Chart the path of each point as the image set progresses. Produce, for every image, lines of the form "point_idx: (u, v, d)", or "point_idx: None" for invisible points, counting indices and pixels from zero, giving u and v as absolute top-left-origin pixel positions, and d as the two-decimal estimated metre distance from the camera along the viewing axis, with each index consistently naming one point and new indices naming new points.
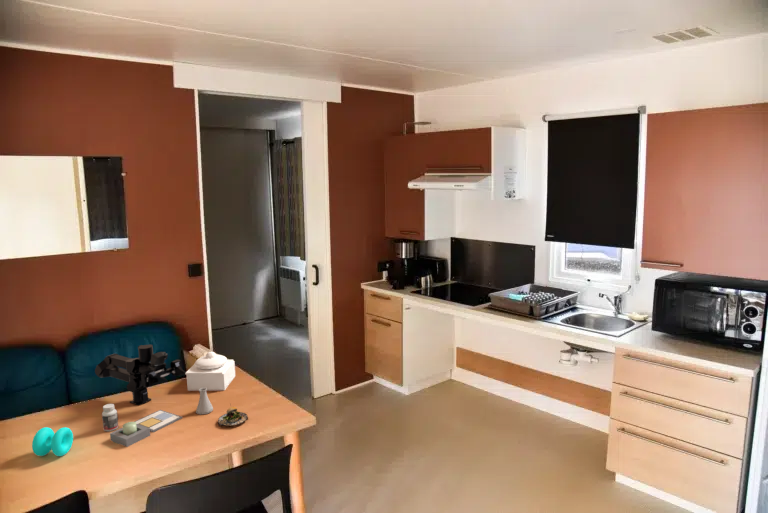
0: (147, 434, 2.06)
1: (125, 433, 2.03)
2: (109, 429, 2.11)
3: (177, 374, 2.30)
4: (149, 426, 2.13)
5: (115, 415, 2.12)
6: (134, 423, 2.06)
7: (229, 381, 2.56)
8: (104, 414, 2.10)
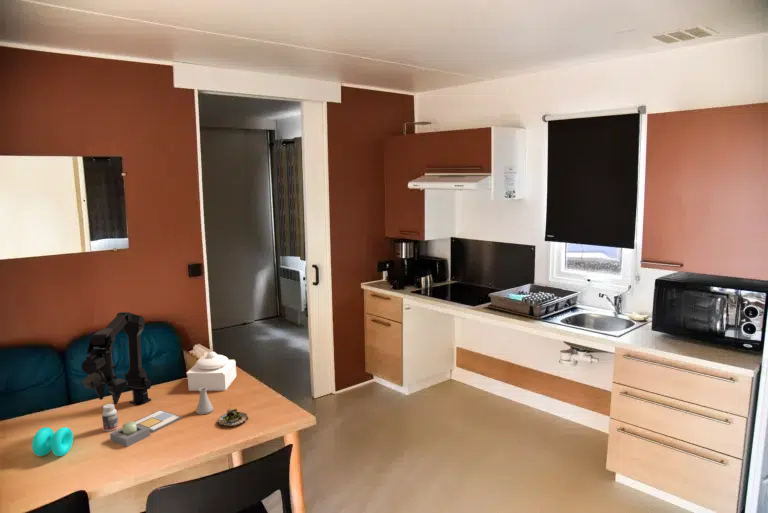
0: (147, 434, 2.06)
1: (125, 433, 2.03)
2: (109, 429, 2.11)
3: None
4: (149, 426, 2.13)
5: (115, 415, 2.12)
6: (134, 423, 2.06)
7: (230, 382, 2.56)
8: (104, 414, 2.10)
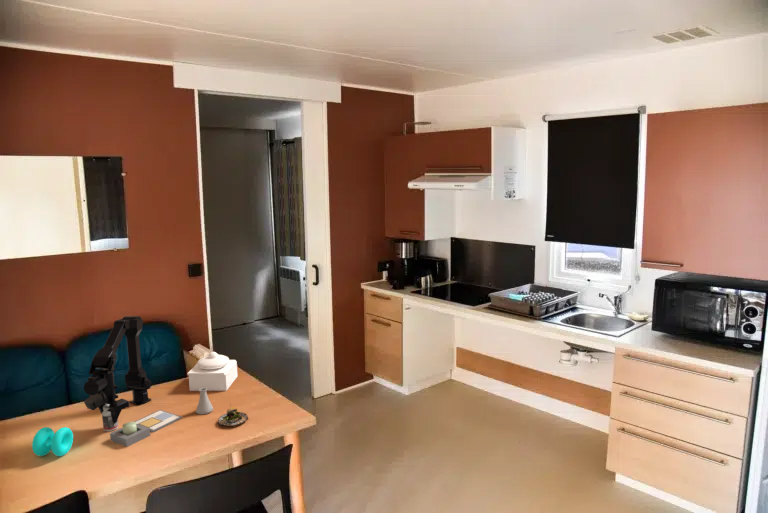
0: (147, 434, 2.06)
1: (125, 433, 2.03)
2: (109, 429, 2.11)
3: None
4: (149, 426, 2.13)
5: None
6: (134, 423, 2.06)
7: (231, 382, 2.56)
8: (104, 414, 2.10)
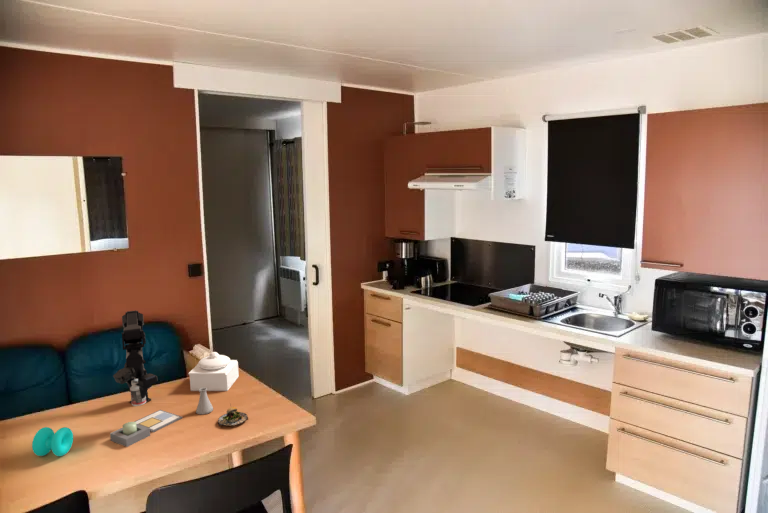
0: (147, 434, 2.06)
1: (125, 433, 2.03)
2: (137, 404, 2.11)
3: None
4: (149, 426, 2.13)
5: None
6: (134, 423, 2.06)
7: (232, 382, 2.56)
8: (132, 389, 2.11)
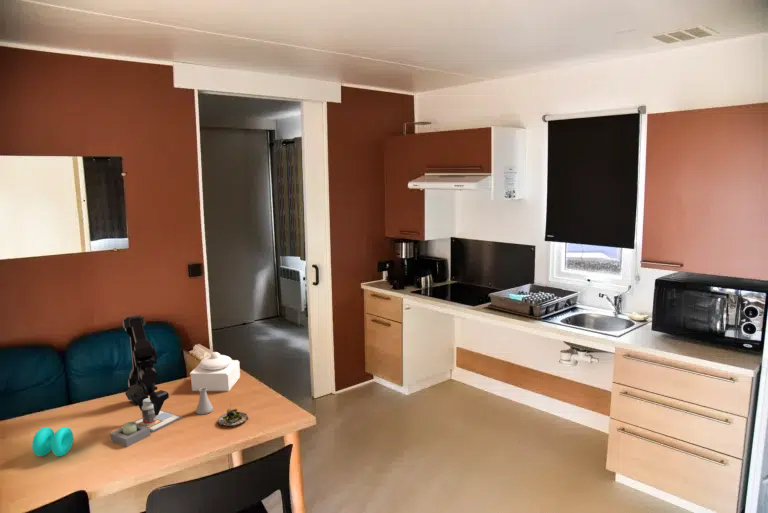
0: (147, 434, 2.06)
1: (125, 433, 2.03)
2: (149, 423, 2.14)
3: None
4: (149, 426, 2.13)
5: None
6: (134, 423, 2.06)
7: (233, 382, 2.55)
8: (144, 408, 2.13)
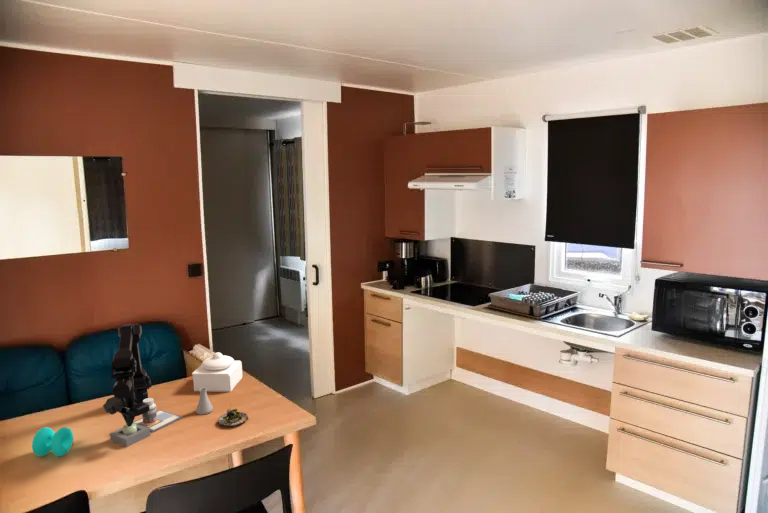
0: (147, 434, 2.06)
1: (125, 434, 2.03)
2: (149, 423, 2.14)
3: None
4: (149, 426, 2.13)
5: (154, 409, 2.15)
6: (134, 424, 2.06)
7: (235, 383, 2.55)
8: None
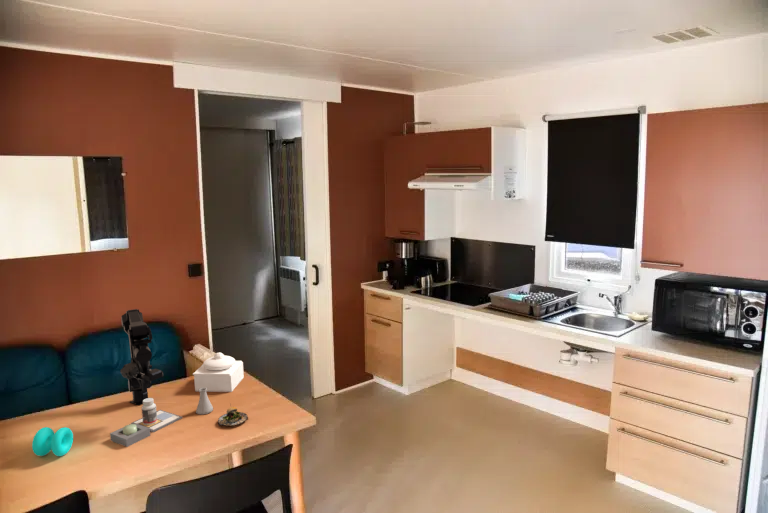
0: (147, 434, 2.06)
1: None
2: (149, 423, 2.14)
3: None
4: (149, 426, 2.13)
5: (154, 409, 2.15)
6: (134, 425, 2.06)
7: (237, 383, 2.55)
8: (144, 408, 2.13)
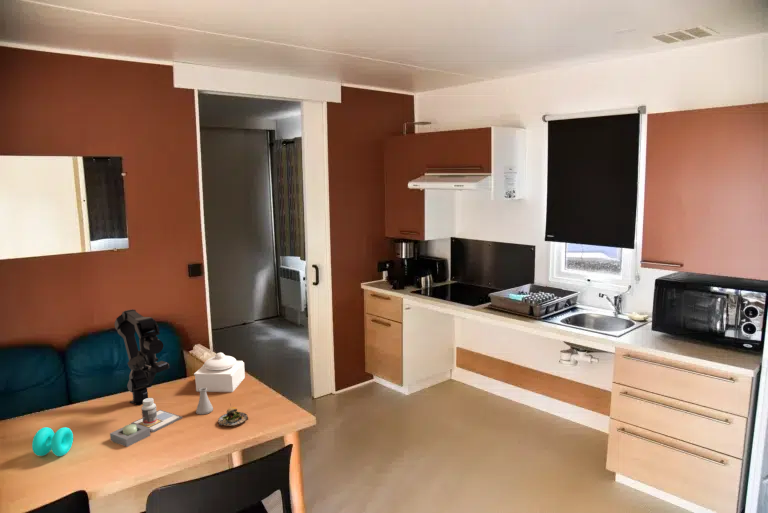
0: (147, 434, 2.06)
1: None
2: (149, 423, 2.14)
3: None
4: (149, 426, 2.13)
5: (154, 409, 2.15)
6: (134, 425, 2.06)
7: (238, 383, 2.54)
8: (144, 408, 2.13)
